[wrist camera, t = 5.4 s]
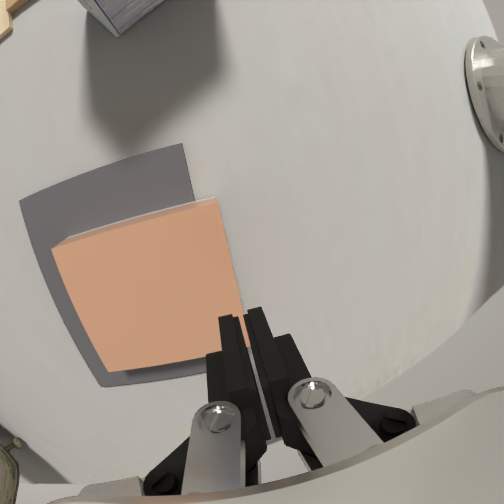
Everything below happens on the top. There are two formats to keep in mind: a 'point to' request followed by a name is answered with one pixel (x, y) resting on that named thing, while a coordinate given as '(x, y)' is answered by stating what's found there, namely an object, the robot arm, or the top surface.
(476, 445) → the robot arm
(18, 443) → the tabletop clock
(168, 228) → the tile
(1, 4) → the beech turner
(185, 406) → the top surface
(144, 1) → the medicine box
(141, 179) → the mat
